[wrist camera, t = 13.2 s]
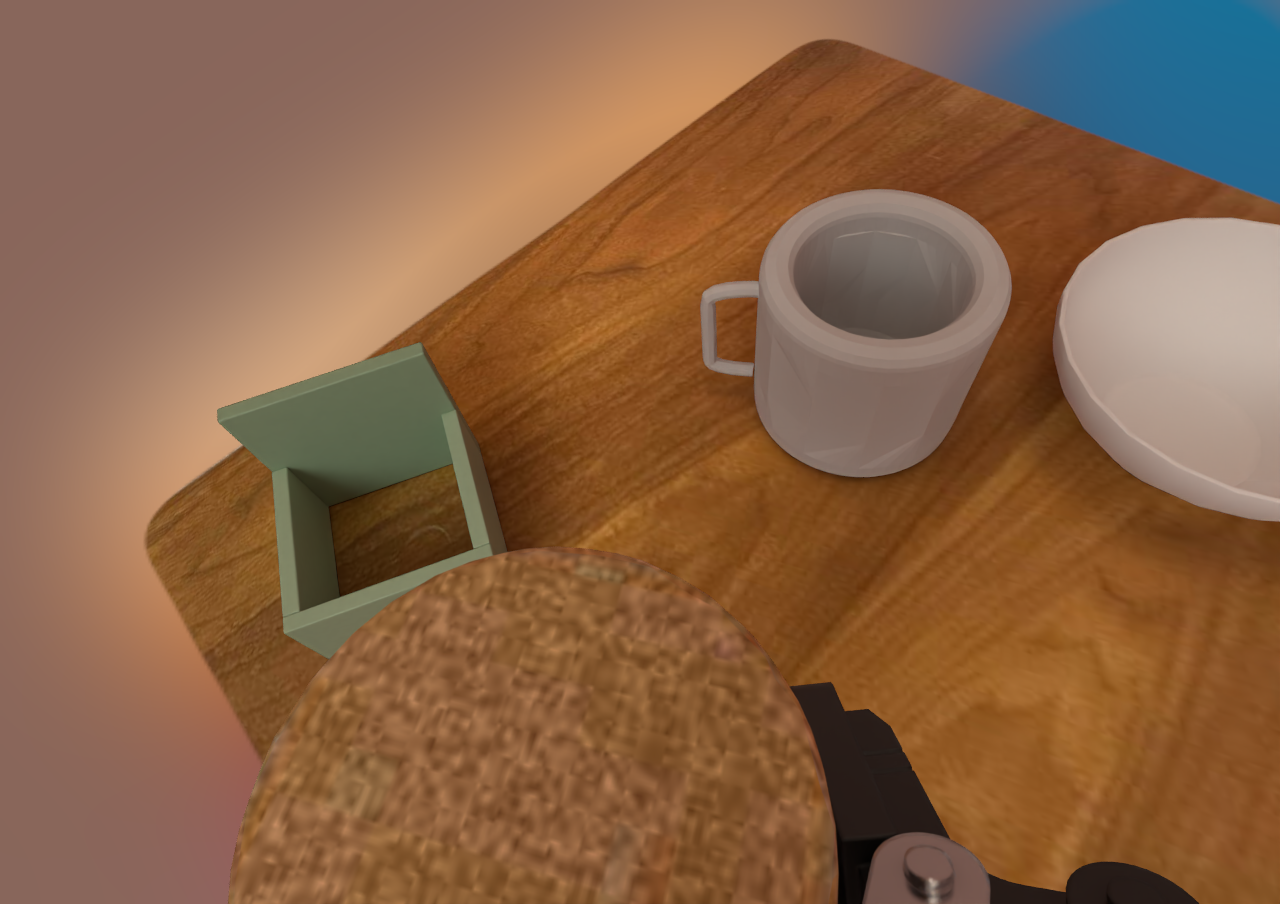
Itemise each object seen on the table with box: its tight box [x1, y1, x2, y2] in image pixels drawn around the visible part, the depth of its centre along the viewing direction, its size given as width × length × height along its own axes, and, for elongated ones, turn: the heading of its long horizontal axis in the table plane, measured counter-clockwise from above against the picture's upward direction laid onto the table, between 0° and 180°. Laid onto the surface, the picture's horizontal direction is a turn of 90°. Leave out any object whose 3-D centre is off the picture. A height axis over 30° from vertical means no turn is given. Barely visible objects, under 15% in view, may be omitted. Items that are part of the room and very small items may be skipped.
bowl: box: [1053, 218, 1280, 521], centre depth 34 cm, size 16×16×7 cm
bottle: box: [228, 547, 839, 904], centre depth 12 cm, size 6×6×15 cm
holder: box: [217, 342, 507, 659], centre depth 34 cm, size 10×10×9 cm
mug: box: [700, 189, 1012, 477], centre depth 36 cm, size 14×11×10 cm
